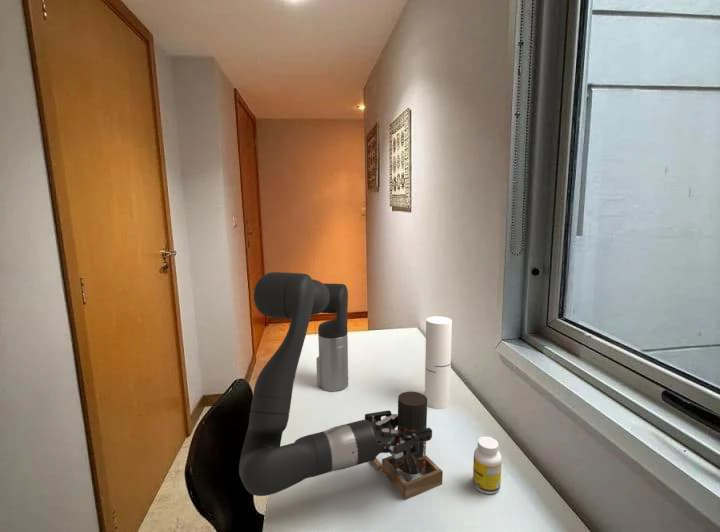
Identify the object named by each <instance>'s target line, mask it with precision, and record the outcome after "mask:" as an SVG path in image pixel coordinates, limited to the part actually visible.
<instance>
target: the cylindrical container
mask: <svg viewBox="0 0 720 532" xmlns="http://www.w3.org/2000/svg"><path fill="white" fill-rule="evenodd" d="M425 319H426V320H425V359H424V361H425V362H424V363H425V364H424V365H425V366H424V368H425V369H424V373H425V374H424V395H425V396H426V397H427V407H429V408H432V409H435V410H442V409H446V408H448V407H449V406H450V404H451V402H450V401H451V371H452V369H451V368H452V367H451V366H452V364H451V363H452V336H453V334H452V333H453V332H452V331H453V330H452V329H453V320H452V319H451V318H449V317H447V316H441V315H439V316H438V315H437V316H433V315H432V316H428V317H427V318H425Z"/></svg>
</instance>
